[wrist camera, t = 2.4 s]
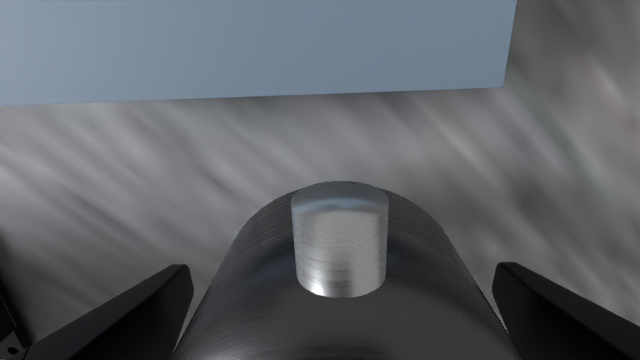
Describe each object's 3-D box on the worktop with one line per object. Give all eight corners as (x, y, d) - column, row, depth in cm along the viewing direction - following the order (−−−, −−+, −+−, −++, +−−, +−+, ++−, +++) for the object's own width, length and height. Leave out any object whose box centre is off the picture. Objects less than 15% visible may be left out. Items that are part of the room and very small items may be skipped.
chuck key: (414, 309, 13) (529, 668, 5) (267, 309, 13) (179, 647, 6) (432, 108, 10) (746, 276, 2) (242, 115, 10) (-13, 280, 3)
